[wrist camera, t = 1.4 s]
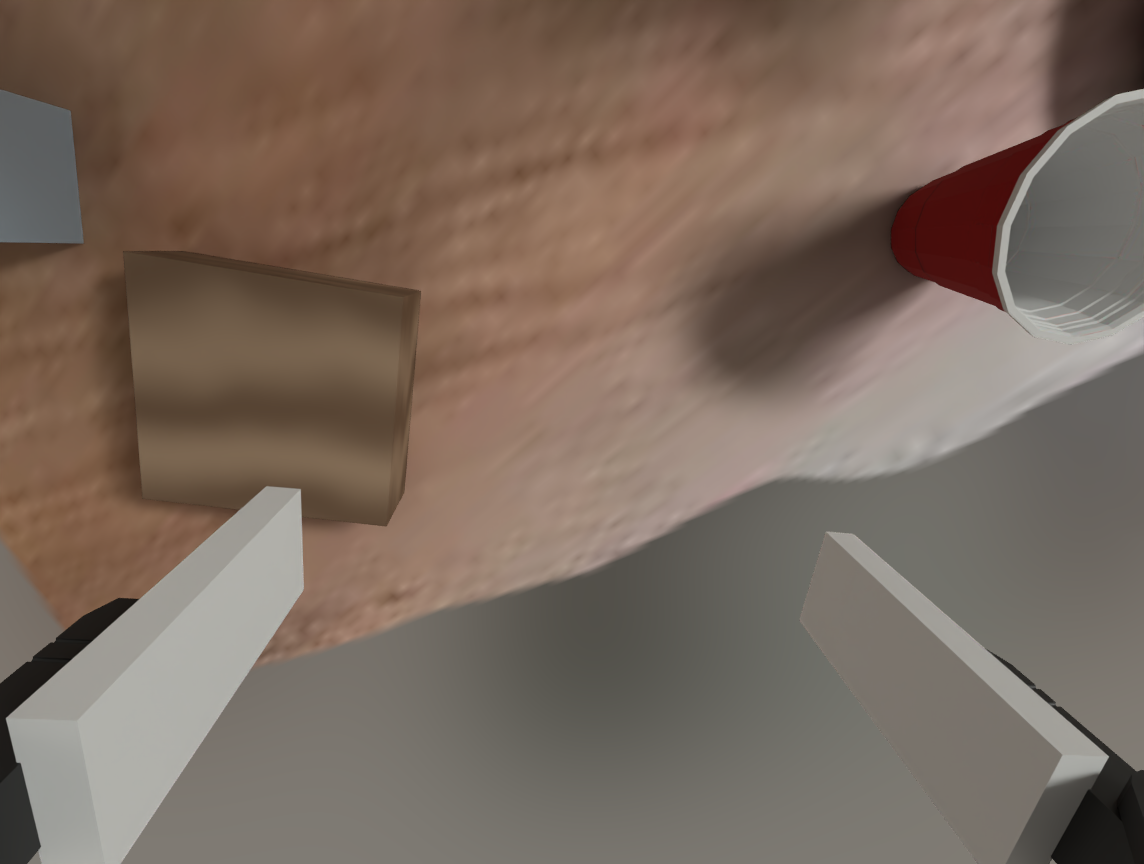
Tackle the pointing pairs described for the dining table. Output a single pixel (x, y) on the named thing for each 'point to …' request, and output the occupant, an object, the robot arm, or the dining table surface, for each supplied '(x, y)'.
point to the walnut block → (270, 384)
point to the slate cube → (37, 173)
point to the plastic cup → (1042, 226)
